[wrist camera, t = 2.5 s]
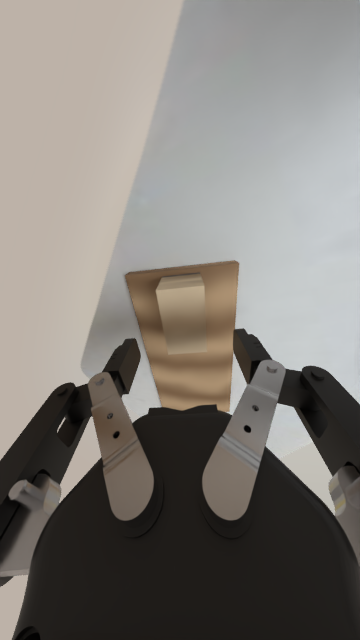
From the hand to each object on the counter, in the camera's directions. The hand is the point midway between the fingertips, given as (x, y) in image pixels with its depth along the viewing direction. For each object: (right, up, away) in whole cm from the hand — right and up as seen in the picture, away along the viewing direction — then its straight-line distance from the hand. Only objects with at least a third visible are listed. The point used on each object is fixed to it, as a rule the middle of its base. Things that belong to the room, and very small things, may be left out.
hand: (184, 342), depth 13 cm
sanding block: (0, +4, +6) cm, 7 cm away
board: (+1, -3, +11) cm, 12 cm away
